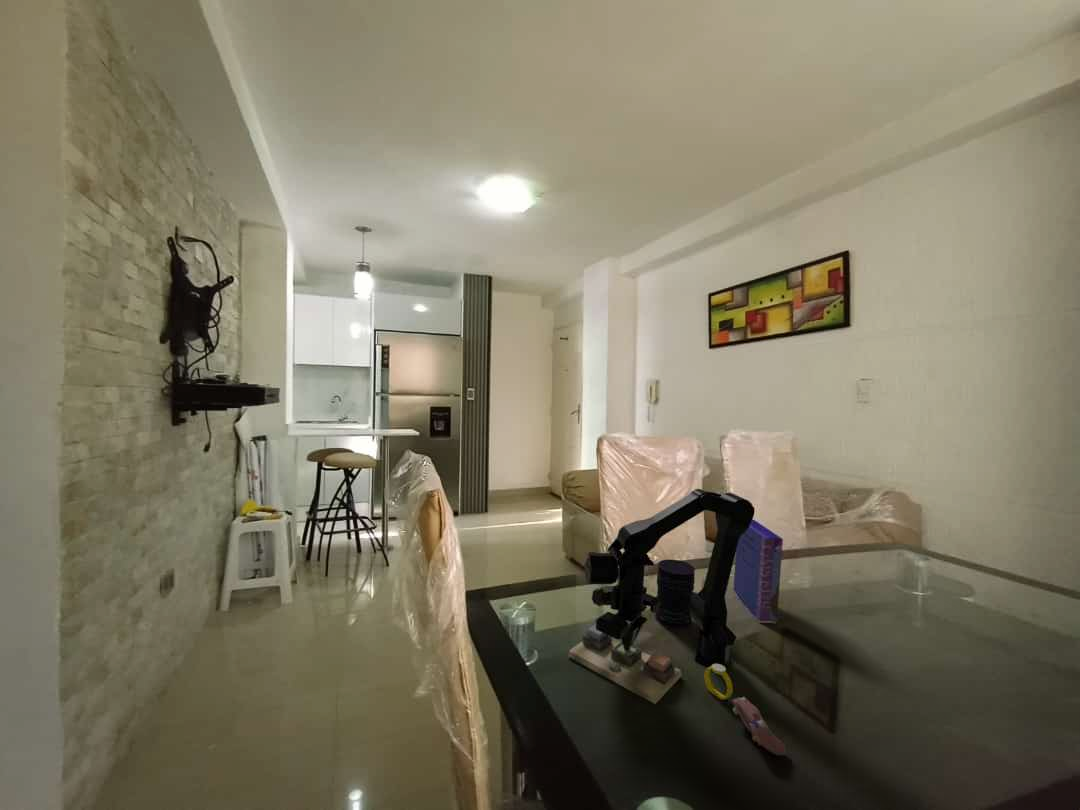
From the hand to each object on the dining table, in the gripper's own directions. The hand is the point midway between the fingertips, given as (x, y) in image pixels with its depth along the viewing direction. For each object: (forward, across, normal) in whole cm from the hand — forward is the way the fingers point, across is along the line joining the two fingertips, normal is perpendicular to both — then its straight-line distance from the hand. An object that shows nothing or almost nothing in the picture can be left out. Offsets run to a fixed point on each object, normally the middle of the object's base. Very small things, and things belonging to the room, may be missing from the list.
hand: (626, 649), depth 103 cm
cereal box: (+4, -51, +13) cm, 52 cm away
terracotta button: (0, 0, +8) cm, 8 cm away
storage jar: (+4, -27, -1) cm, 27 cm away
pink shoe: (+4, +2, +28) cm, 29 cm away
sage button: (+2, 0, 0) cm, 2 cm away
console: (+4, +1, 0) cm, 4 cm away
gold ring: (+4, -5, +19) cm, 20 cm away
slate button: (+1, 0, -8) cm, 8 cm away
